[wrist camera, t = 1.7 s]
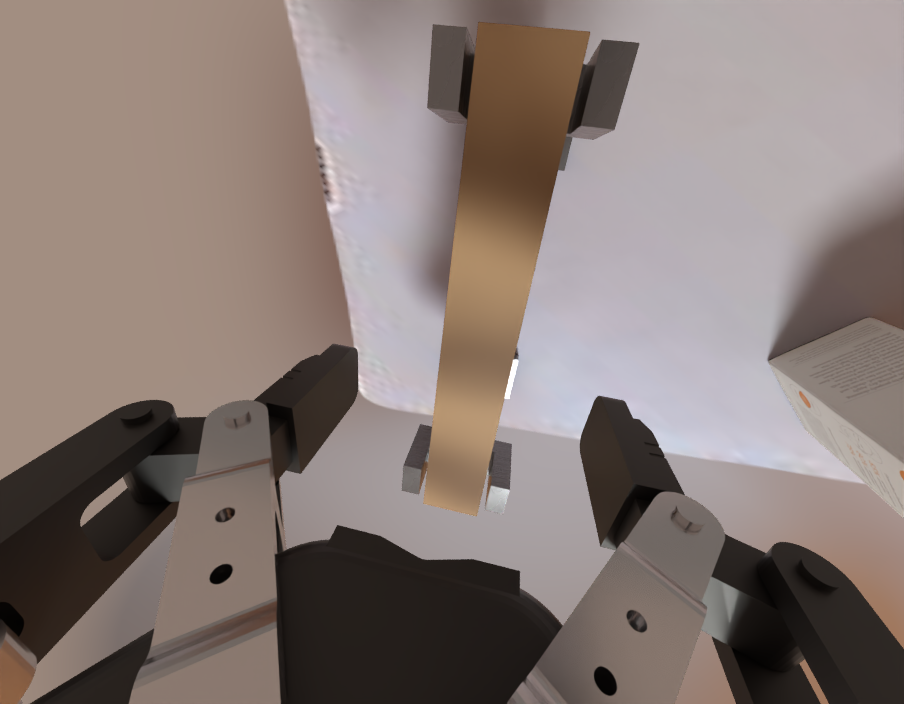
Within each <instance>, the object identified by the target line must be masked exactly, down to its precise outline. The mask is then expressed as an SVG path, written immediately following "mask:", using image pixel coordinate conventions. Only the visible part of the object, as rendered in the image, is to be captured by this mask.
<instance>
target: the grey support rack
mask: <svg viewBox="0 0 904 704" xmlns="http://www.w3.org/2000/svg"><path fill="white" fill-rule="evenodd" d="M638 47H639V43H634V42H623V41H612V40H602V41H601V42H600V44H599V46H598V47H597V49H596V51H595V52H594V54H593V56H592V57H591V59H590V61H589V62H588V64H587V65H585V64H583V66H582V70H581V74H580V78H579V83H578V87H577V91H576V95H575V100H574V104H573V108H572V113H571V117H570V121H569V125H568V130H567V134H566V138H565V142H564V147H563V151H562V155H561V159H560V164H559V168H558V170H562V171H564V170H565V166H566V162H567V157H568V153H569V149H570V145H571V141H572V137H575V138H583V139H592V140H594V139H596V138H598V137H600V136H602V135H604V134H607V133H609V132H611V131H613V130H615V126H616V123H617V119H618V116H619V112H620V109H621V105H622V102H623V99H624V95H625V92H626V88H627V85H628V81H629V78H630V74H631V71H632V68H633V64H634V61H635V57H636V54H637V50H638ZM474 57H475V48H474V45H473V43H472V40H471V37H470V35H469V32H468V30H467V27H456V26H445V25H434V24H433V30H432V45H431V60H430V75H429V90H428V105H427V108H428V109H429V110H431V111H432V112H434V113H435V114H437V115H438V116H440V117H441V118H443V119H444V120H446V121H447V122H450V123H458V124H467V118H468V109H469V101H470V92H471V83H472V74H473V66H474ZM517 363H518V355H517V354H515V355H514V360H513V364H512V368H511V372H510V377H509V381H508V385H507V389H506V394H505V398H506V399H509V396H510V392H511V388H512V384H513V380H514V376H515V372H516V368H517ZM431 432H432V427H430V426H426V425H421V424H420V426H419V429H418V431H417V434H416V436H415V439H414V441H413V443H412V446H411V448H410V451H409V453H408V456H407V458H406V461H405V464H404V466H403V480H402V491H406V492H410V493H415V494H419V492H420V489H421V486H422V483H423V480H424V477H425V474H426V471H427V467H428V459H429V450H430V441H431ZM511 447H512V444H509V443H504V442H500V441H496V440H495V441H494V445H493V449H492V453H491V458H490V462H489V466H488V470H487V475H488V476H489V478H488V487H487V496H486V505H485V510H486V511H490V512H494V513H499V514H503V512H504V508H505V505H506V501H507V498H508V494H509V491H510V473H511Z"/></svg>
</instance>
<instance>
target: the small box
mask: <svg viewBox="0 0 904 704" xmlns="http://www.w3.org/2000/svg"><path fill="white" fill-rule="evenodd" d="M768 362H769V365H770V367H771V368H772V370H773V372H774V374H775V376H776V378H777V380H778V381H779V383H780V385H781V387H782V389H783V391H784V392H785V394H786V396H787V398H788V400H789V401H790V403H791V405H792V407H793V409H794V410H795V412H796V414H797V416H798V418H799V419H800V421H801V423H802V425H803V426H804V428H805V430H806V431H807V432H808V433H809V434H810V435H811V436H813V437H814V438H815V439H816V440H817V441H818V442H819V443H820V444H821V445H823V446H824V447H825V448H826V449H827V450H828V451H829V452H830V453H832V454H833V455H834V456H835V457H836V458H837V459H839V460H840V461H841V462H842V463H843V464H844V465H845V466H847V467H848V468H849V469H850V470H851V471H852V472H853V473H854V474H856V475H857V476H858V477H859V478H860V479H861V480H862V481H863V482H864V483H866V484H867V485H868V486H869V487H870V488H871V489H872V490H873V491H874V492H875V493H877V494H878V495H879V496H880V497H881V498H882V499H883V500H884V501H885V502H886V503H888V505H890V506H891V507H892V508H893V509H894V510H895V511H896V512H897V513H898V514H899V515H901V516H902V517H903V518H904V330H902V329H900V328H897V327H895V326H892V325H890V324H887V323H885V322H883V321H880V320H878V319H875V318H872V317H870V318H864V319H862V320H860V321H858V322H856V323H853V324H851V325H849V326H847V327H844V328H842V329H840V330H837V331H835V332H833V333H830V334H828V335H826V336H824V337H821V338H819V339H817V340H814V341H812V342H810V343H807V344H805V345H802V346H800V347H798V348H796V349H793V350H791V351H789V352H787V353H784V354H782V355H780V356H778V357H775V358H773V359H771V360H769V361H768Z"/></svg>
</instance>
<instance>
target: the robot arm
mask: <svg viewBox="0 0 904 704" xmlns="http://www.w3.org/2000/svg"><path fill="white" fill-rule="evenodd" d="M357 392H358V352H357V349H356V348H353V347H348V346H343V345H338V344H332V345H331V346H330V347H329V348H328V349H327V350H325V351H324V352H323V353H322V354H321V355H320V356H319V355H314V356H312V357H309V358H307V359H305V360H302V361H301V362H299V363H298V364H297V365H296V366H295V367H293V368H292V369H291V371H289V372H287V373H286V374H285V375H284V376H283V378H280V379H279V380H278V381H276V382H275V383H274V384H273V385H272V386H270V387H269V388H268V389H267V390H266V391H264V392H263V393H262V394H261V395H260V396H258V397H257V398H256V399H255V400H254V401H252V400H243V401H235V402H231V403H228V404H225V405H223V406H221V407H218V408H217V409H215V410H214V411H212V412H211V413H210V414H209V415H208V416H207V417H189V418H188V417H185V418H177V416H176V413H175V410H174V407H173V405H172V404H170V403H169V402H166V401H161V400H146V401H140V402H136V403H132V404H129V405H126V406H123V407H121V408H119V409H116V410H114V411H113V412H111V413H109V414H108V415H106V416H105V417H103V418H101V419H100V420H98V421H96V422H95V423H93V424H91V425H90V426H88V427H86V428H85V429H83V430H82V431H80V432H78V433H77V434H75V435H73V436H72V437H70V438H68V439H67V440H65V441H64V442H62V443H60V444H59V445H57V446H55V447H54V448H52V449H51V450H49V451H47V452H46V453H44V454H42V455H41V456H39V457H37V458H36V459H34V460H32V461H31V462H29V463H28V464H26V465H24V466H23V467H21V468H19V469H18V470H16V471H14V472H13V473H11V474H10V475H8V476H6V477H5V478H3V479H1V480H0V704H22V700H21V698H22V697H23V695H24V693H25V692H26V690H27V689H28V687H29V685H30V684H31V682H32V679H33V677H34V674H35V671H36V666H37V664H38V663H39V662H40V661H41V659H42V658H43V657H44V656H45V655H46V654H47V653H48V652H49V651H50V650H51V649H52V648H53V646H55V644H57V642H58V641H59V640H60V639H61V638H62V637H63V636H64V635H65V634H66V633H67V632H68V631H69V630H70V629H71V628H72V627H73V625H74V624H75V623H76V622H77V621H78V620H79V619H80V618H81V617H82V616H83V615H84V614H85V613H86V612H87V611H88V610H89V608H90V607H91V606H92V605H93V604H94V603H95V602H96V601H97V600H98V599H99V598H100V597H101V596H102V595H103V594H104V593H105V591H107V589H108V588H109V587H110V586H111V585H112V584H113V583H114V582H115V581H116V580H117V579H118V578H119V577H120V576H121V575H122V573H124V571H125V570H126V569H127V568H128V567H129V566H130V565H131V564H132V563H133V562H134V561H135V560H136V559H137V558H138V557H139V556H140V554H141V553H142V552H143V551H144V550H145V549H146V548H147V547H148V546H149V545H150V544H151V543H152V542H153V541H154V540H155V539H156V538H157V536H158V535H159V534H160V533H161V532H162V531H163V530H164V529H165V528H166V527H167V526H168V525H169V524H170V522H172V521H173V519H174V518H175V517H176V516H177V517H176V522H175V527H174V532H173V537H172V542H171V547H170V552H169V557H168V563H167V567H166V573H165V578H164V583H163V588H162V593H161V598H160V603H159V608H158V613H157V618H156V623H155V628H154V629H152V630H151V631H149V632H147V633H146V634H144V635H143V636H141V637H139V638H138V639H136V640H134V641H132V642H131V643H129V644H128V645H126V646H124V647H123V648H121V649H119V650H118V651H116V652H114V653H113V654H111V655H110V656H108V657H106V658H105V659H103V660H101V661H100V662H98V663H96V664H95V665H93V666H91V667H90V668H88V669H87V670H85V671H83V672H81V673H80V674H78V675H77V676H75V677H73V678H71V679H70V680H68V681H67V682H65V683H63V684H62V685H60V686H58V687H57V688H56V689H53V690H52V691H50V692H48V693H47V694H45V695H43V696H42V697H40V698H38V699H37V700H35V701H34V702H32V703H30V704H675V701H676V698H677V696H678V693H679V690H680V687H681V684H682V681H683V679H684V675H685V673H686V670H687V667H688V665H689V662H690V659H691V656H692V653H693V650H694V648H695V645H696V642H697V639H698V636H699V633H700V631H701V630H702V631H704V632H706V633H707V634H709V635H711V636H712V639H713V642H714V645H715V647H716V650H717V653H718V655H719V658H720V661H721V663H722V666H723V669H724V672H725V675H726V677H727V680H728V683H729V686H730V688H731V691H732V694H733V696H734V699H735V702H736V704H820V702H819V700H818V698H817V696H816V694H815V692H814V690H813V688H812V686H811V684H810V683H809V681H808V679H807V677H806V675H805V673H804V671H803V669H802V668H801V666H800V664H799V663H800V662H802V661H803V660H804V659H805V660H806V662H807V663H808V665H809V667H810V669H811V671H812V673H813V674H814V676H815V678H816V680H817V682H818V684H819V685H820V687H821V689H822V691H823V693H824V695H825V696H826V699H827V700H828V703H829V704H904V649H903V647H902V646H901V645H900V644H899V642H898V641H897V640H896V638H895V637H894V636H893V634H892V633H891V632H890V631H889V629H888V628H887V627H886V625H885V624H884V623H883V622H882V620H881V619H880V618H879V616H878V615H877V614H876V612H875V611H874V610H873V608H872V607H871V606H870V605H869V603H868V602H867V601H866V599H865V598H864V597H863V595H862V594H861V593H860V592H859V590H858V589H857V588H856V586H855V585H854V584H853V583H852V582H851V581H850V580H849V579H848V578H847V577H846V575H845V574H843V573H842V572H841V571H840V570H839V569H838V568H836V567H835V566H834V565H833V564H831V563H830V562H829V561H827V560H826V559H824V558H823V557H821V556H819V555H818V554H816V553H814V552H812V551H810V550H809V549H806V548H804V547H802V546H799V545H796V544H793V543H788V542H779V543H776V544H774V546H772V548H771V549H770V550H769V551H768V552H767V553H764V552H762V551H760V550H758V549H756V548H753V547H751V546H749V545H747V544H745V543H742V542H740V541H738V540H736V539H734V538H732V537H729V536H728V535H726V534H725V533H724V530H723V528H722V526H721V524H720V523H719V521H718V520H717V518H716V517H715V516H714V515H713V514H712V513H711V512H710V511H709V510H708V509H706V508H705V507H704V506H703V505H701V504H700V503H698V502H697V501H695V500H693V499H691V498H689V497H687V496H685V494H684V492H683V491H682V489H681V487H680V485H679V483H678V481H677V479H676V477H675V475H674V473H673V471H672V469H671V467H670V465H669V464H668V461H667V460H666V459H665V458H664V454H663V452H662V450H661V448H659V444H658V442H657V440H656V438H655V436H654V434H653V433H652V431H651V430H650V429H649V428H648V427H647V426H645V425H644V424H643V423H642V422H641V421H640V420H639V419H634V418H633V417H632V415H631V413H630V411H629V409H628V407H627V405H626V403H625V401H623V400H618V399H613V398H608V397H603V396H598V397H597V398H596V399H595V401H594V403H593V406H592V409H591V411H590V414H589V416H588V419H587V422H586V424H585V427H584V429H583V432H582V435H581V440H580V454H581V458H582V463H583V467H584V472H585V477H586V482H587V486H588V491H589V496H590V500H591V505H592V509H593V514H594V519H595V523H596V528H597V532H598V537H599V542H600V546H601V547H604V548H608V549H612V550H616V551H615V552H614V554H613V555H612V557H611V558H610V560H609V561H608V562H607V564H606V565H605V567H604V568H603V570H602V571H601V572H600V574H599V575H598V577H597V578H596V579H595V581H594V582H593V584H592V585H591V587H590V588H589V589H588V591H587V592H586V594H585V595H584V597H583V598H582V600H581V601H580V602H579V604H578V605H577V607H576V608H575V609H574V611H573V613H572V614H571V615H570V617H569V618H568V619H567V621H566V622H565V624H564V625H562V624H561V623H560V622H559V620H558V619H557V618H556V617H555V616H554V615H553V614H552V613H551V612H550V611H549V610H548V609H547V608H546V607H545V606H544V605H543V604H542V603H541V602H539V601H538V600H537V599H535V598H534V597H533V596H531V595H530V594H529V593H527V592H526V591H524V590H522V589H520V571H517V570H513V569H509V568H505V567H501V566H497V565H493V564H490V563H486V562H482V561H477V560H474V559H470V560H469V559H467V560H466V559H465V560H464V559H461V560H424V559H421V558H418V557H417V556H415V555H413V554H411V553H409V552H408V551H406V550H404V549H402V548H401V547H399V546H397V545H395V544H393V543H392V542H390V541H388V540H386V539H385V538H383V537H381V536H378V535H374V534H370V533H367V532H362V531H358V530H354V529H350V528H347V527H343V526H339V525H337V527H336V529H335V531H334V533H333V534H332V536H331V538H330V540H320V541H313V542H308V543H305V544H300V545H298V546H295V547H292V548H289V549H287V548H286V540H285V530H284V519H283V508H282V497H281V485H280V479H279V478H280V477H281V476H282V474H283V473H284V472H285V471H286V470H287V471H291V472H295V473H299V474H301V473H302V471H303V470H304V469H305V467H306V466H307V465H308V463H309V462H310V461H311V459H312V458H313V457H314V455H315V454H316V453H317V451H318V450H319V448H320V447H321V446H322V445H323V443H324V442H325V441H326V439H327V438H328V437H329V435H330V434H331V433H332V431H333V430H334V429H335V427H336V426H337V425H338V423H339V422H340V420H341V419H342V418H343V417H344V415H345V414H346V413H347V411H348V410H349V409H350V407H351V406H352V404H353V403H354V401H355V399H356V396H357ZM122 477H123V479H124V480H125V483H126V485H127V487H128V488H127V489H126V490H125V491H123V492H122V493H121V494H120V495H119V496H118V497H116V498H115V499H114V500H113V501H112V502H111V503H109V504H108V505H107V506H106V507H104V508H103V509H102V510H101V511H100V512H99V513H97V514H96V515H95V516H94V517H93V518H91V519H90V520H89V521H88V522H87V523H86V524H84V525H83V526H82V527H81V526H80V519H81V516H82V514H83V512H84V510H85V509H86V508H87V506H88V505H89V504H90V503H91V502H92V501H93V500H94V499H95V498H97V497H98V496H99V495H100V494H102V493H103V492H104V491H106V490H107V489H108V488H109V487H110V486H112V485H113V484H114V483H116V482H117V481H118V480H119V479H121V478H122Z"/></svg>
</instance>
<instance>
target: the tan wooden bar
mask: <svg viewBox="0 0 904 704" xmlns="http://www.w3.org/2000/svg"><path fill="white" fill-rule="evenodd" d="M589 36H590V32H587V31H576V30H564V29H553V28H542V27H530V26H519V25H507V24H496V23H485V22H478V31H477V39H476V48H475V57H474V66H473V74H472V83H471V92H470V101H469V109H468V118H467V127H466V135H465V144H464V153H463V162H462V170H461V179H460V188H459V197H458V205H457V214H456V223H455V232H454V240H453V249H452V258H451V267H450V275H449V284H448V293H447V301H446V310H445V319H444V328H443V336H442V345H441V354H440V363H439V371H438V380H437V389H436V398H435V406H434V415H433V424H432V432H431V441H430V450H429V459H428V467H427V476H426V485H425V494H424V504H427V505H431V506H435V507H440V508H444V509H448V510H452V511H456V512H461V513H465V514H469V515H473V516H477V513H478V509H479V505H480V500H481V496H482V491H483V488H484V483H485V479H486V475H487V470H488V466H489V462H490V458H491V453H492V449H493V445H494V441H495V436H496V432H497V428H498V424H499V419H500V415H501V411H502V407H503V402H504V398H505V394H506V389H507V385H508V381H509V377H510V372H511V368H512V364H513V360H514V355H515V351H516V347H517V343H518V338H519V334H520V330H521V326H522V321H523V317H524V313H525V309H526V304H527V300H528V296H529V291H530V287H531V283H532V279H533V274H534V270H535V266H536V262H537V257H538V253H539V249H540V245H541V240H542V236H543V232H544V228H545V223H546V219H547V215H548V211H549V206H550V202H551V198H552V193H553V189H554V185H555V181H556V176H557V172H558V168H559V164H560V159H561V155H562V151H563V147H564V142H565V138H566V134H567V130H568V125H569V121H570V117H571V113H572V108H573V104H574V100H575V95H576V91H577V87H578V83H579V78H580V74H581V70H582V66H583V61H584V57H585V53H586V49H587V44H588V40H589Z"/></svg>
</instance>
